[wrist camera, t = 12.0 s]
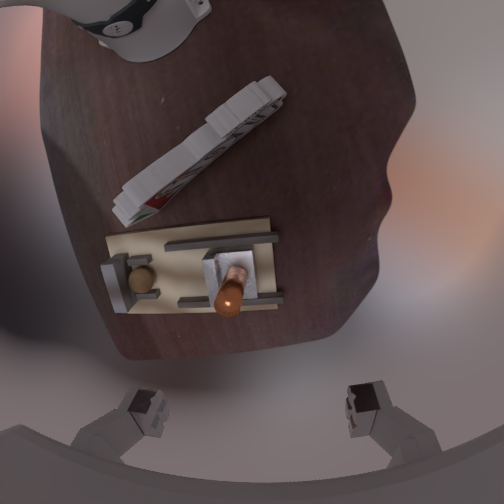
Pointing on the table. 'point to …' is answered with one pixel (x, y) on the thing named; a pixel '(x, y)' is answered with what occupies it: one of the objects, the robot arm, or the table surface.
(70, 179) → the table surface
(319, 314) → the table surface
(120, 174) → the table surface
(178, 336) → the table surface
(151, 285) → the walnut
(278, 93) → the decorative sign
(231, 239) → the press bed
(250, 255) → the handle
